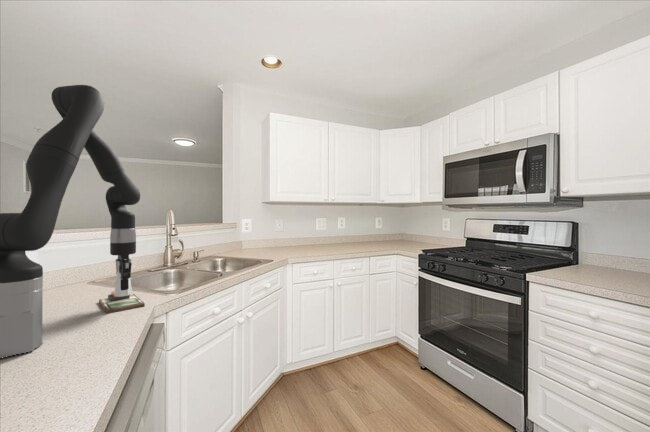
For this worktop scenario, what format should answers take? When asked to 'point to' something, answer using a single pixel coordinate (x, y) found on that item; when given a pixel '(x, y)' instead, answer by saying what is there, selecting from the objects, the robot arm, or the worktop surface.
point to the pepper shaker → (118, 287)
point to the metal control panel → (120, 303)
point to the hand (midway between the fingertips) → (123, 288)
